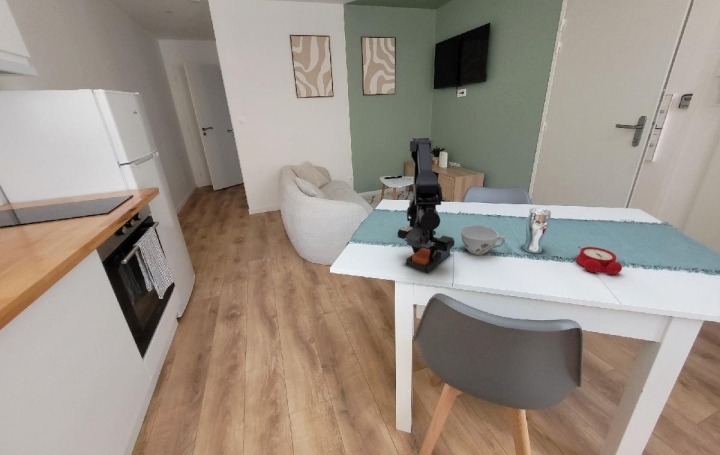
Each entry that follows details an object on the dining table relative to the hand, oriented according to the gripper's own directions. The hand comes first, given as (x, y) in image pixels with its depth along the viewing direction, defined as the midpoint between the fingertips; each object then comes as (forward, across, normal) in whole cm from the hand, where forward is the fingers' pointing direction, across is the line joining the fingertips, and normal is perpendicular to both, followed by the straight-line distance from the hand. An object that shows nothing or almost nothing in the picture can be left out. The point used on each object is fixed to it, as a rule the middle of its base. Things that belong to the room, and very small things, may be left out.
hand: (423, 259), depth 100 cm
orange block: (+1, 0, 0) cm, 1 cm away
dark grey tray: (+1, 0, +3) cm, 3 cm away
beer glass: (+2, +26, +33) cm, 42 cm away
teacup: (+2, +12, +20) cm, 23 cm away
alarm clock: (+2, +45, +32) cm, 55 cm away
